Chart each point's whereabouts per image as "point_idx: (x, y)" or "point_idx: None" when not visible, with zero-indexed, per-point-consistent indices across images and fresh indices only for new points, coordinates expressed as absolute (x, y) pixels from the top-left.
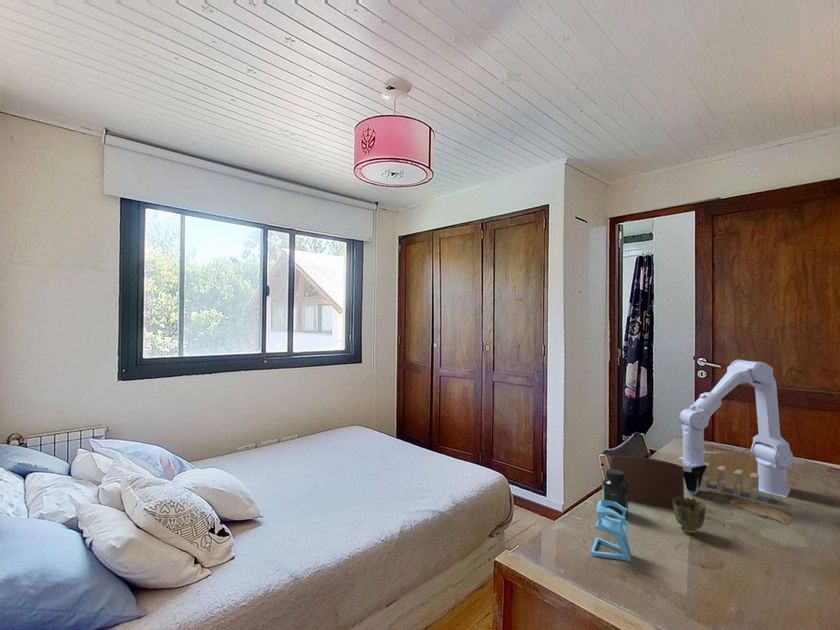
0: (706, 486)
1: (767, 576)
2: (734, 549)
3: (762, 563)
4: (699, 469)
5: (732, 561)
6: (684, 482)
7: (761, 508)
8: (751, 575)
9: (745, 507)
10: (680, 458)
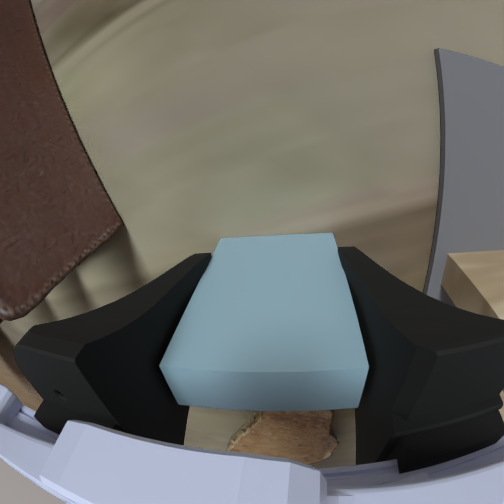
0: (445, 287)
1: (23, 402)
2: (25, 382)
3: (38, 405)
4: (365, 431)
5: (3, 374)
6: (451, 146)
7: (288, 452)
8: (7, 387)
9: (251, 433)
10: (62, 491)
